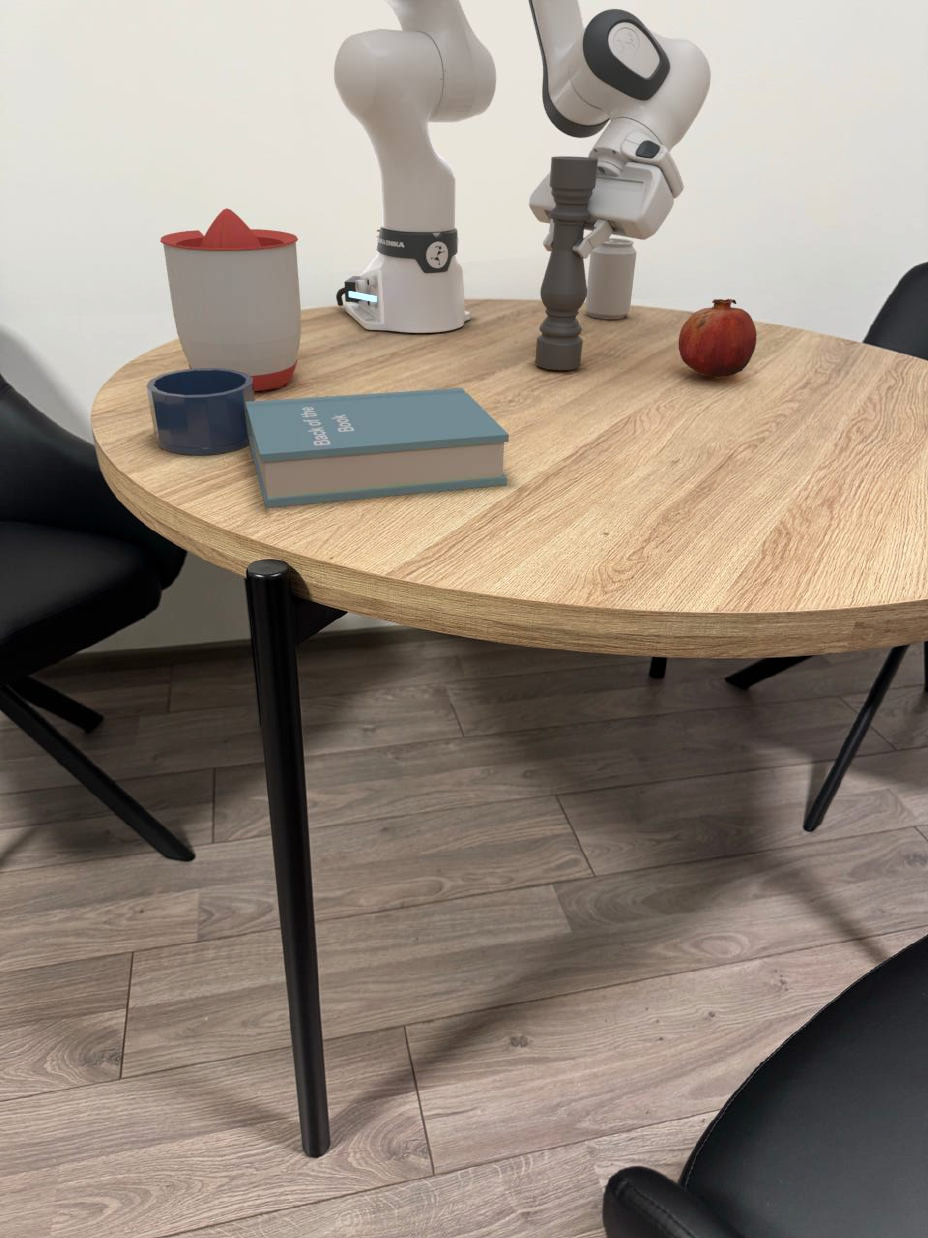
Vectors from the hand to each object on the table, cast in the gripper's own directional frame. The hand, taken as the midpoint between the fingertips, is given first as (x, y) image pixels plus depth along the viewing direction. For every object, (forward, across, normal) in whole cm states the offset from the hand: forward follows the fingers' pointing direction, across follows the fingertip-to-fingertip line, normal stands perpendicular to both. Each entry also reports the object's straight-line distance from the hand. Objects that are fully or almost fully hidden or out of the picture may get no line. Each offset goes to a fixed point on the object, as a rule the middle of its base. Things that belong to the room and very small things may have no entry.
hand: (563, 251), depth 112 cm
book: (+39, +15, -18) cm, 46 cm away
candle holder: (+10, 0, +11) cm, 15 cm away
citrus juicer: (+37, -19, -15) cm, 44 cm away
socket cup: (+46, -2, -25) cm, 52 cm away
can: (-11, -18, +33) cm, 39 cm away
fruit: (0, +16, +21) cm, 26 cm away
